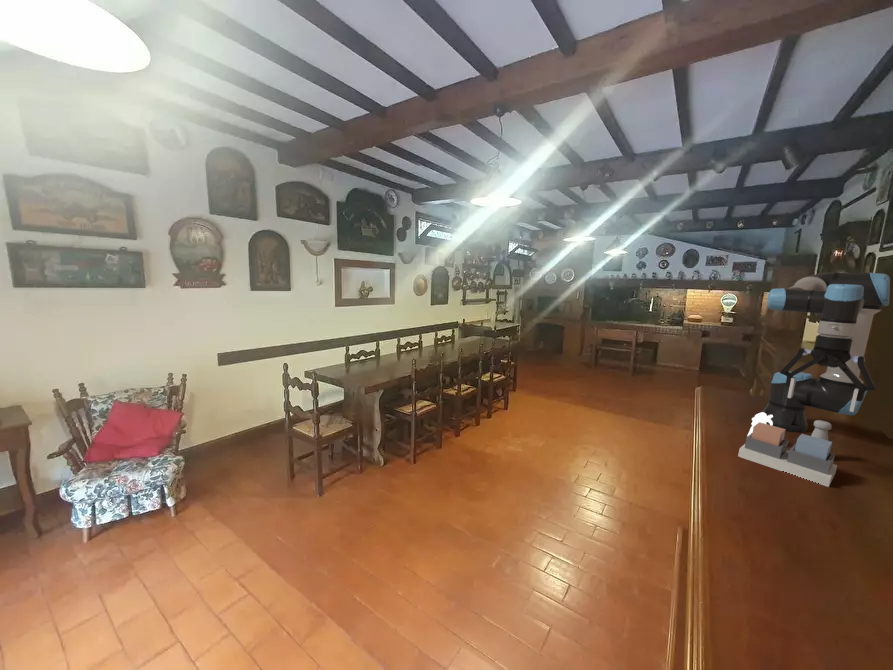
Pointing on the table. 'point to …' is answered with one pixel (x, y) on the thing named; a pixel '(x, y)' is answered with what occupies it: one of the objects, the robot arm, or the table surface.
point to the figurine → (760, 420)
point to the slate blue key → (813, 446)
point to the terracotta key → (768, 433)
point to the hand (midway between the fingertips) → (819, 403)
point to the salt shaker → (821, 429)
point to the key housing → (789, 460)
